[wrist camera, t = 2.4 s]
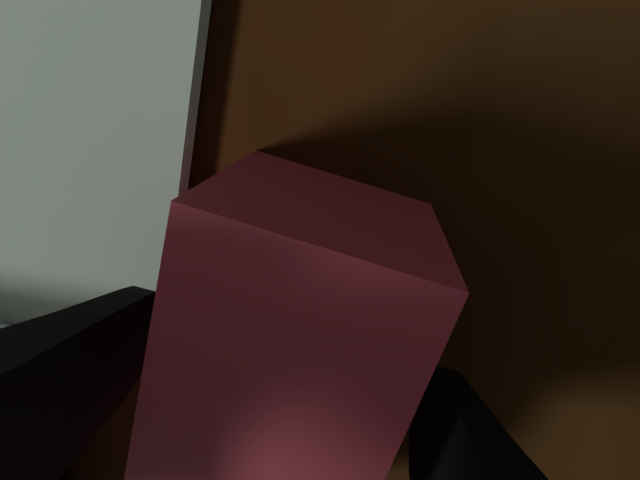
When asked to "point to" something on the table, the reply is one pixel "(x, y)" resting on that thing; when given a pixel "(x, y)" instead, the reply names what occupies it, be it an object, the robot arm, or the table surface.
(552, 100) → the table surface
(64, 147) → the sage mat
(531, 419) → the table surface
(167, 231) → the card box
